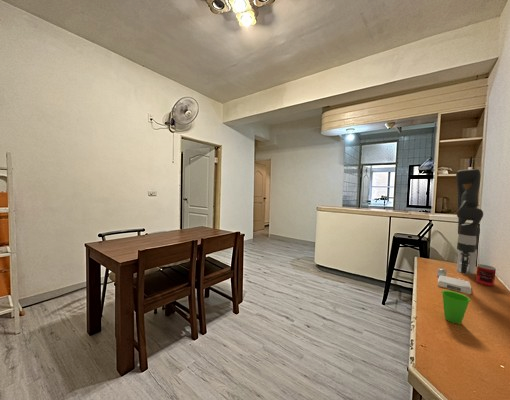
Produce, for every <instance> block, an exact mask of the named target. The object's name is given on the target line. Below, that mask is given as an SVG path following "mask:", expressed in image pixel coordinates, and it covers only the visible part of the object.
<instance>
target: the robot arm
mask: <svg viewBox="0 0 510 400" xmlns="http://www.w3.org/2000/svg"><path fill="white" fill-rule="evenodd" d="M481 176H482V175H481V171H480V169H477V168H472V169H470V168H468V169H460V170H457V171H456V175H455V179H456V190H457V212H456V217H457V218H458V221H457V222H458V223H457V235H458V237H457V244H456V249H457V250H458V254H457V262H456V263H457V264H456V271H457V272H458V267H459V263H462V264H461V274H465V275H467V274H466V271H467V267H468V264H469V265H470V266H469V274H468V275H475V273H476V268H477V267H476V265H477V257H478V249H479V248H478V247H479V238H480V235H481V234H480V233H481V228H480V227H479V225H480V223H481V220H482V219H483V217H484V211H483V210H482V209H481V208H478V205H479V190H480V186H481ZM465 185H470V186H469V187H468V188H466V187H465ZM467 221H471V223H466V222H467ZM463 263H466V264H463Z"/></svg>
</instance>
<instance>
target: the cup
mask: <svg viewBox="0 0 510 400" xmlns="http://www.w3.org/2000/svg"><path fill="white" fill-rule="evenodd" d="M441 294H442V301H443V303H442V304H443V311H444V312H443V313H444V318H446V319H445V320H446V321H447V320H448V321H447V322H449V321H450V322H449V323H451V322H453V323H452V324H454V323H458V324H457V325H460V324H459V323H461V324H462V322H463V319H464V318H465V314H466V311H467V308H468V306H469V302H471V298H470V297H468V296H467V295H464V294H463V293H460V292H458V291H454V290H445V289H444V290H442V291H441Z"/></svg>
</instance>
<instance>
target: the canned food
mask: <svg viewBox="0 0 510 400" xmlns="http://www.w3.org/2000/svg"><path fill="white" fill-rule="evenodd" d="M496 270H497V269H496V267H494V266H491V265H487V264H483V263H482V264H481V263H479V264H477V267H476V275H475V276H476V277H475V278H476V279H475V281H476V283H477V284H479V285H482V286H484V287H490V288H491V287H494V285H495V280H496Z"/></svg>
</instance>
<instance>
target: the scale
mask: <svg viewBox="0 0 510 400" xmlns="http://www.w3.org/2000/svg"><path fill="white" fill-rule="evenodd" d="M437 287H441V288H444V289H449V290H451V291H455V292H459V293H460V292H461V293H462V294H463V293H464V294H467V295H471V294H472V286H471V283H470V281H467V280H463V279H459V278H455V277H450V276H447V275H446V276H443V275H440V276H439V277H438V279H437Z"/></svg>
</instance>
